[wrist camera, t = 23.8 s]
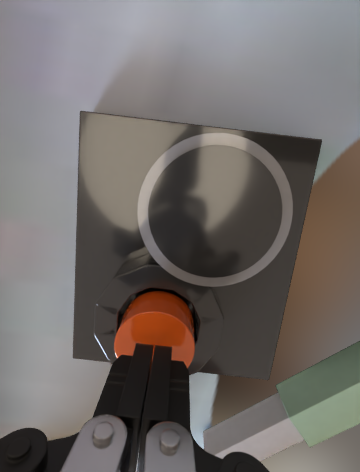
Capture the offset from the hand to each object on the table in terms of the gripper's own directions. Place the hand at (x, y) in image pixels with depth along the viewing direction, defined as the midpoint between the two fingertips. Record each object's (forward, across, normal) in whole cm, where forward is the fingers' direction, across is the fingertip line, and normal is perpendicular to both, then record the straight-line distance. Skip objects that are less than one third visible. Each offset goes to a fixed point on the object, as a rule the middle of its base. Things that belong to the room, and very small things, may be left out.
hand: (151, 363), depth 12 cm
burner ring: (+3, -2, -6) cm, 7 cm away
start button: (+3, 0, 0) cm, 3 cm away
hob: (+6, -1, -3) cm, 7 cm away
